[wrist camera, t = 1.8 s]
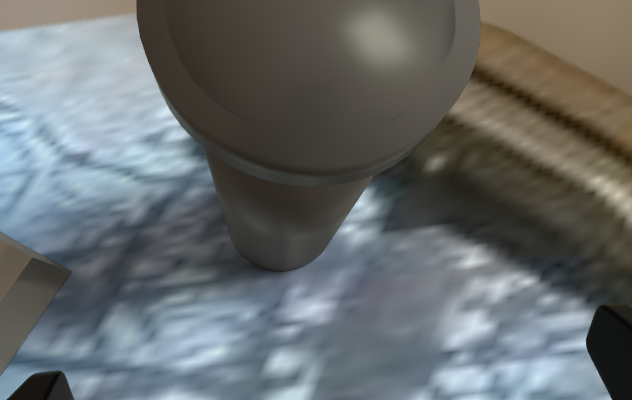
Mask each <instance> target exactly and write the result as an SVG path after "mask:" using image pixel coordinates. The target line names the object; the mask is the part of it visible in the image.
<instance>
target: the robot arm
mask: <svg viewBox="0 0 632 400" xmlns="http://www.w3.org/2000/svg"><path fill="white" fill-rule="evenodd" d="M586 346H587V350H588V353H589V355H590V357H591V359H592V361H593V363H594V365H595V367H596V369H597V371H598V373H599V375H600V377H601V379H602V381H603V383H604V385H605V387H606V389H607V391H608V392H609V394H610V396H611V398H612V400H632V307H631V306H629V305H627V304H624V303H614V304H605V305H601V306H599V307H598V308H597V309H596V311H595V314H594V317H593V320H592V323H591V326H590V329H589V331H588V334H587V338H586ZM7 400H74V398H73V395H72V392H71V390H70V387H69V384H68V381H67V379H66V376H65V374H64V373H63V372H62V371H58V370H56V371H48V372H40V373H35V374H33V375H32V376H30V377H29V378H28V379H27V380H26V381H25V382H24V383H23V384H22V385H21V386H20V387H19V388H18V389H17V390H16V391H15V392H14V393H13V394H12V395H11V396H10V397H9V398H8V399H7Z"/></svg>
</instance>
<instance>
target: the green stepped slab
mask: <svg viewBox="0 0 632 400" xmlns="http://www.w3.org/2000/svg"><path fill="white" fill-rule="evenodd" d="M70 273H71V271H69V270H67V269H66V268H64V267H62V266H60V265H58V264H57V263H55V262H53V261H51V260H50V259H48V258H46V257H44V256H42V255H41V254H39V253H37V252H35V251H33V250H32V249H30V248H28V247H26V246H24V245H23V244H21V243H19V242H17V241H15V240H14V239H12V238H10V237H8V236H6V235H5V234H3V233H1V232H0V376H1V374H2V373H3V371H4V370H5V368H6V367H7V365H8V364H9V363H10V361H11V360H12V358H13V357H14V355H15V354H16V352H17V351H18V349H19V348H20V346H21V345H22V343H23V342H24V341H25V339H26V338H27V336H28V335H29V333H30V332H31V330H32V329H33V327H34V326H35V324H36V323H37V321H38V320H39V318H40V317H41V316H42V314H43V313H44V311H45V310H46V308H47V307H48V305H49V304H50V302H51V301H52V299H53V298H54V296H55V295H56V293H57V292H58V291H59V289H60V288H61V286H62V285H63V283H64V282H65V280H66V279H67V277H68V276H69V274H70Z"/></svg>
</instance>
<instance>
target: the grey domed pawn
mask: <svg viewBox="0 0 632 400" xmlns="http://www.w3.org/2000/svg"><path fill="white" fill-rule="evenodd" d="M137 22H138V27H139V33H140V38H141V41H142V44H143V47H144V50H145V53H146V56H147V59H148V62H149V64H150V67H151V69H152V72H153V74H154V76H155V79H156V81H157V84H158V86H159V89H160V91H161V93H162V95H163V97H164V99H165V101H166V103H167V105H168V107H169V109H170V110H171V112H172V113H173V115H174V116H175V118H176V119H177V120H178V122H179V123H180V125H181V126H182V127H183V128H184V129H185V130H186V131H187V133H188V134H189V135H190V136H191V137H192V138H193V139H194V140H195V141H196V142H197V143H198V144H200V145H201V146H202V147H203V148H204V151H205V155H206V158H207V161H208V165H209V168H210V171H211V175H212V178H213V181H214V184H215V188H216V191H217V194H218V198H219V201H220V204H221V208H222V211H223V214H224V218H225V221H226V224H227V227H228V231H229V234H230V237H231V239H232V241H233V243H234V245H235V247H236V248H237V250H238V251H239V252H240V253H241V254H242V255H243V256H244V257H245V258H246V259H247V260H248V261H250V262H252V263H253V264H255V265H257V266H259V267H261V268H264V269H267V270H273V271H290V270H294V269H298V268H301V267H303V266H305V265H307V264H309V263H311V262H312V261H313V260H315V259H316V258H317V257H318V256H319V255H320V254H321V253H322V252H323V251H324V249H325V248H326V247H327V245H328V244H329V242H330V241H331V239H332V238H333V236H334V235H335V233H336V232H337V230H338V229H339V227H340V226H341V224H342V223H343V221H344V220H345V218H346V217H347V215H348V214H349V212H350V211H351V209H352V208H353V206H354V205H355V203H356V202H357V200H358V199H359V197H360V196H361V194H362V193H363V191H364V190H365V188H366V187H367V185H368V184H369V182H370V181H371V179H372V178H373V176H374V175H375V174H378V173H380V172H382V171H384V170H386V169H388V168H390V167H392V166H394V165H395V164H397V163H398V162H399V161H401V160H402V159H404V158H405V157H407V156H408V155H410V154H411V153H412V152H413V151H414V150H415V149H416V148H417V147H418V146H420V145H421V144H422V143H423V142H424V141H425V140H426V138H427V137H428V136H429V135H430V133H431V132H432V131H433V130H434V128H435V127H436V126H437V125H438V124H439V122H440V121H441V120H442V119H443V117H444V116H445V115H446V114H447V112H448V111H449V110H450V109H451V107H452V106H453V105H454V104H455V102H456V101H457V100H458V98H459V97H460V95H461V93H462V91H463V90H464V88H465V86H466V85H467V83H468V81H469V78H470V76H471V73H472V71H473V68H474V66H475V62H476V58H477V54H478V50H479V44H480V32H481V21H480V7H479V2H478V0H137Z"/></svg>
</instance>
